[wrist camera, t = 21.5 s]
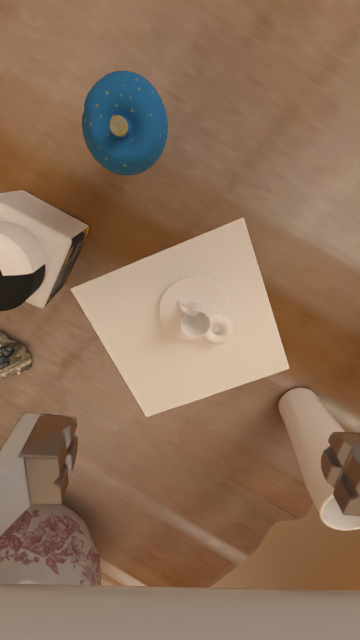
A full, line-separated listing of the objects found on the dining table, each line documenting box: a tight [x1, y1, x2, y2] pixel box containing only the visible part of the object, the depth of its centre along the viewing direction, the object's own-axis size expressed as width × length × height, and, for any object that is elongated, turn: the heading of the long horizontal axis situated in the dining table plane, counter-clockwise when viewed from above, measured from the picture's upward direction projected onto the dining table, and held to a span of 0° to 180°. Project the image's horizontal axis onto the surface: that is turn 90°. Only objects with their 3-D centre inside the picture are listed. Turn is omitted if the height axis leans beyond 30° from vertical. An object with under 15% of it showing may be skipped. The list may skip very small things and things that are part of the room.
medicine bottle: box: [0, 190, 89, 311], centre depth 27 cm, size 7×7×12 cm
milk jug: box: [0, 504, 101, 586], centre depth 43 cm, size 28×28×21 cm
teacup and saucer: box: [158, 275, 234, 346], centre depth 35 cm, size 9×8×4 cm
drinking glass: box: [278, 388, 360, 530], centre depth 36 cm, size 7×7×15 cm
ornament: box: [82, 71, 168, 175], centre depth 22 cm, size 5×5×15 cm
